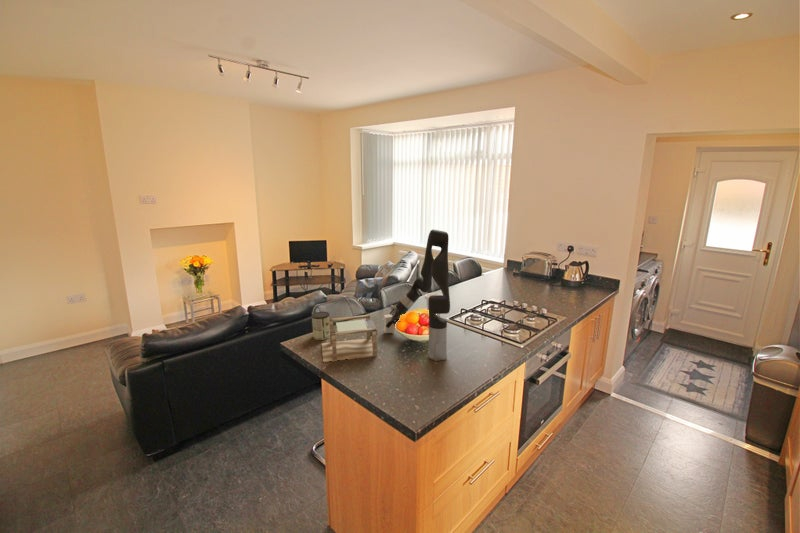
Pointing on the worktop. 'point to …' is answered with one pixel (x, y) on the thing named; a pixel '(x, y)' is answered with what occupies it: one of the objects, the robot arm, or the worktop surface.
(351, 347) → the trapdoor frame
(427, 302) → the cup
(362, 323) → the trapdoor
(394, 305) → the food container
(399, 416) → the worktop surface
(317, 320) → the coffee can
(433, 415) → the worktop surface
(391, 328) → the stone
